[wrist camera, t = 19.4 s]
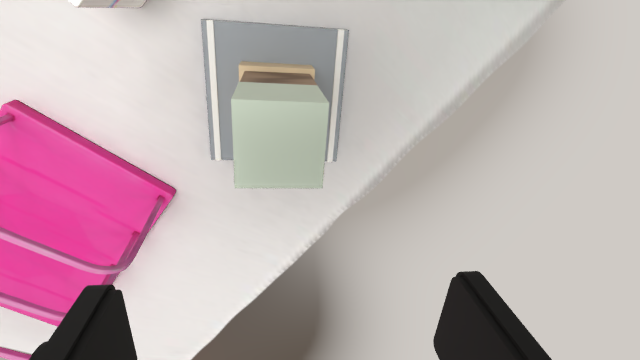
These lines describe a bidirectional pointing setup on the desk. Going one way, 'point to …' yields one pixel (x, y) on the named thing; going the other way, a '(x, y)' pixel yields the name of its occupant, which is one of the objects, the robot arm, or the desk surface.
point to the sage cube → (279, 135)
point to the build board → (269, 51)
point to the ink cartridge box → (108, 3)
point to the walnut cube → (278, 78)
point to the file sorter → (65, 215)
